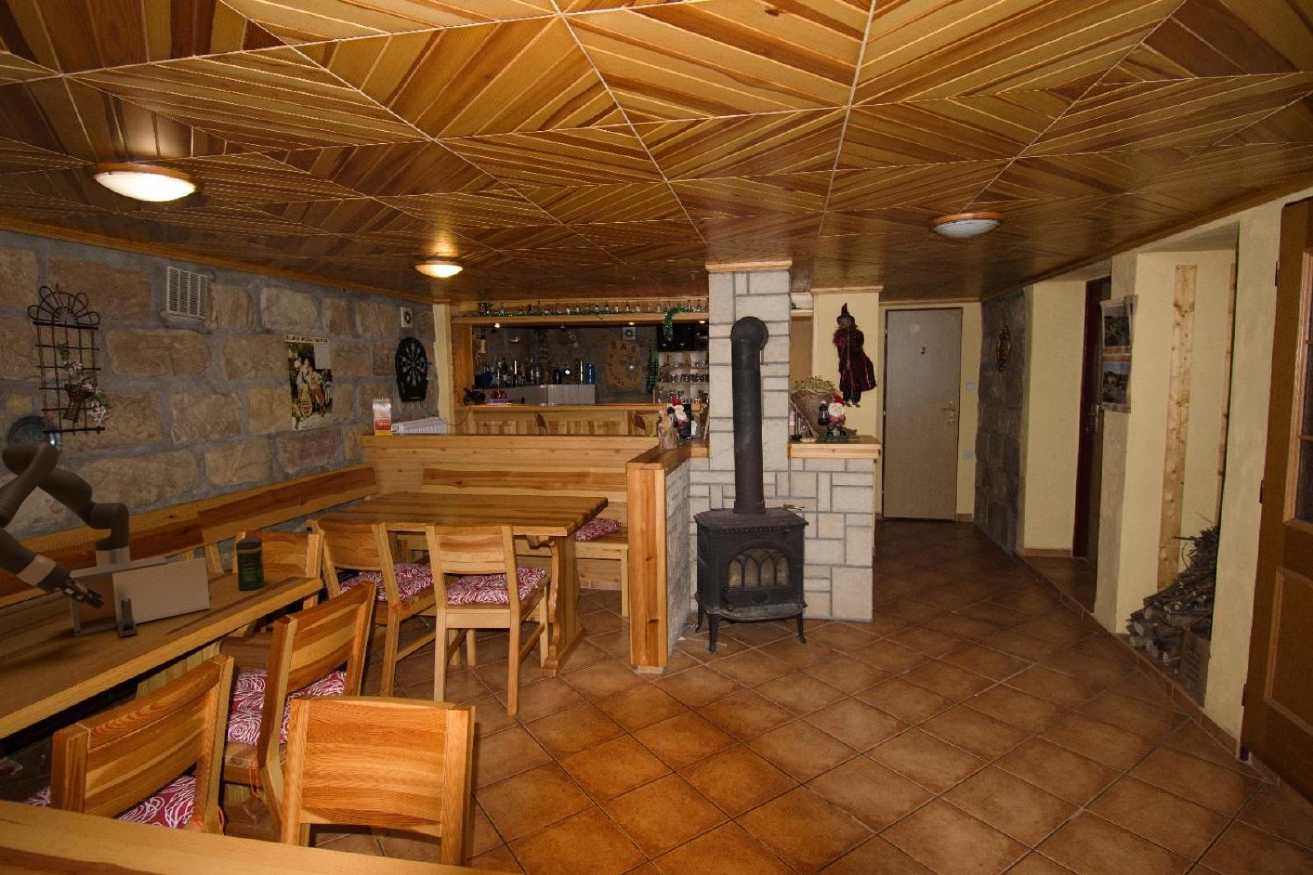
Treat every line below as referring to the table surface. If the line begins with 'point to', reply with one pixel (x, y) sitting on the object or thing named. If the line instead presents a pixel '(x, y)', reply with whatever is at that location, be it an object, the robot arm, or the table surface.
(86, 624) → the block
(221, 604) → the table surface
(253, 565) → the coffee jar
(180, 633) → the table surface
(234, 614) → the table surface
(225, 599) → the table surface
